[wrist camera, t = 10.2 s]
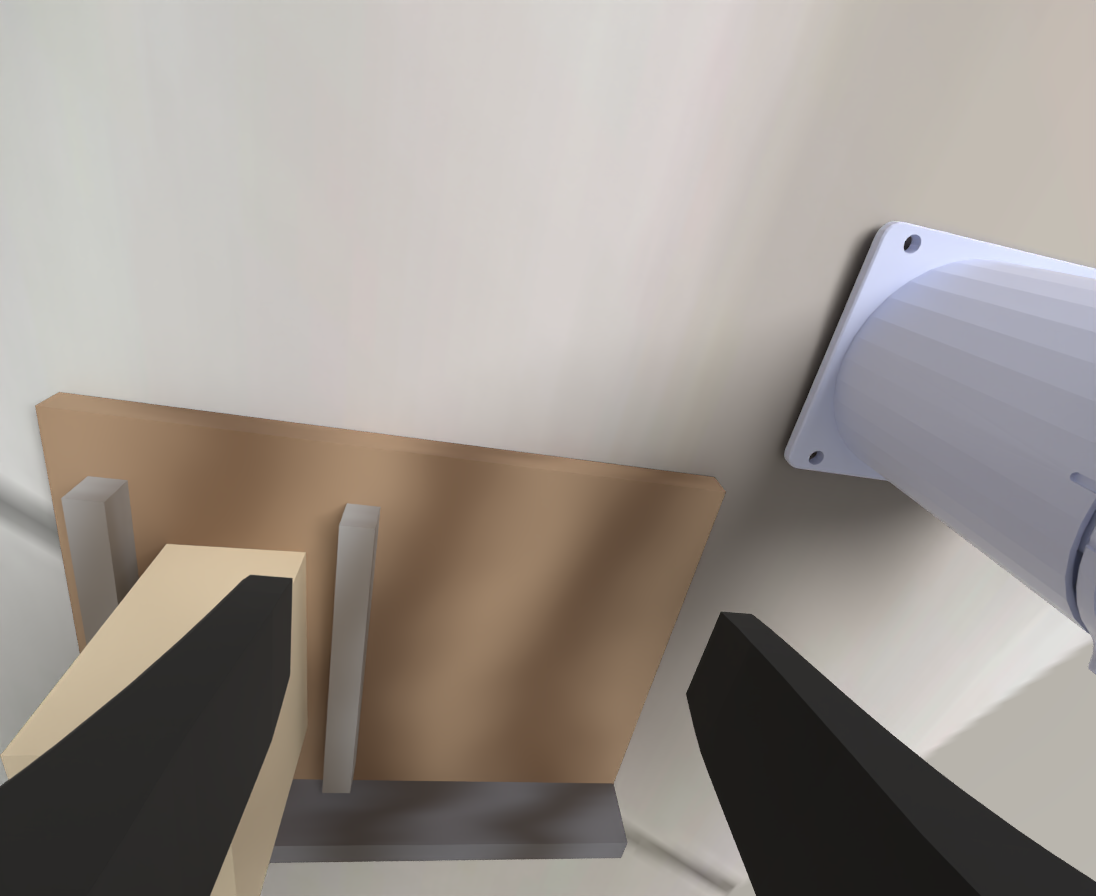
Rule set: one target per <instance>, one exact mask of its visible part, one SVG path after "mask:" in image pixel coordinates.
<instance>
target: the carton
mask: <svg viewBox="0 0 1096 896" xmlns="http://www.w3.org/2000/svg"><path fill="white" fill-rule="evenodd" d="M249 575H261V576H274V577H286V578H293V583H292V624H291V665H290V678H289V682H288V685H287V689H286V693H285V696H284V700H283V704H282V707H281V711H280V714H279V718H278V721H277V725H276V728H275V732H274V735H273V739H272V742H271V744H270V747H269V750H268V752H267V755H266V757H265V760H264V762H263V765H262V767H261V770H260V772H259V775H258V778H257V780H256V783H255V785H254V788H253V790H252V793H251V795H250V798H249V800H248V803H247V805H246V808H245V810H244V813H243V815H242V818H241V820H240V823H239V825H238V828H237V830H236V833H235V835H234V838H233V840H232V843H231V845H230V848H229V850H228V853H227V855H226V858H225V860H224V863H223V865H222V868H221V870H220V873H219V875H218V878H217V880H216V883H215V885H214V888H213V890H212V893H211V895H210V896H260V894H261V890H262V886H263V883H264V879H265V876H266V872H267V869H268V865H269V862H270V858H271V855H272V851H273V847H274V844H275V840H276V837H277V833H278V830H279V826H280V823H281V819H282V816H283V812H284V809H285V805H286V801H287V798H288V794H289V791H290V787H291V784H292V780H293V777H294V773H295V770H296V766H297V762H298V759H299V755H300V752H301V748H302V745H303V741H304V738H305V734H306V731H307V727H308V718H307V619H306V552H291V551H275V550H258V549H242V548H225V547H209V546H192V545H176V544H166V545H165V546H164V548H163V549H162V550H161V551H160V553H159V554H158V555H157V557H156V558H155V559H154V560H153V562H152V563H151V564H150V566H149V567H148V568H147V569H146V571H145V572H144V573H143V574H142V576H141V577H140V578H139V580H138V581H137V582H136V583H135V585H134V586H133V587H132V588H131V590H130V591H129V592H128V594H127V595H126V596H125V597H124V599H123V600H122V601H121V602H120V604H119V605H118V606H117V608H116V609H115V610H114V611H113V613H112V614H111V615H110V616H109V618H108V619H107V620H106V622H105V623H104V624H103V625H102V627H101V628H100V629H99V631H98V632H97V633H96V634H95V636H94V637H93V638H92V639H91V641H90V642H89V643H88V645H87V646H86V647H85V648H84V650H83V651H82V652H81V653H80V655H79V656H78V657H77V659H76V660H75V661H74V662H73V664H72V665H71V666H70V667H69V669H68V670H67V671H66V673H65V674H64V675H63V676H62V678H61V679H60V680H59V681H58V683H57V684H56V685H55V687H54V688H53V689H52V690H51V692H50V693H49V694H48V695H47V697H46V698H45V699H44V701H43V702H42V703H41V704H40V706H39V707H38V708H37V710H36V711H35V712H34V713H33V715H32V716H31V717H30V718H29V720H28V721H27V722H26V724H25V725H24V726H23V727H22V729H21V730H20V731H19V732H18V734H17V735H16V736H15V738H14V739H13V740H12V741H11V743H10V744H9V745H8V746H7V748H6V749H5V750H4V752H3V753H2V754H1V755H0V756H1V759H2V762H3V765H4V768H5V771H6V774H7V776H8V779H11V778H12V777H13V776H15V775H16V774H17V773H19V772H20V771H21V770H23V769H24V768H25V767H27V766H28V765H29V764H31V763H32V762H33V761H35V760H36V759H37V758H38V757H40V756H41V755H42V754H44V753H45V752H46V751H48V750H49V749H50V748H52V747H53V746H54V745H55V744H57V743H58V742H59V741H60V740H62V739H63V738H64V737H65V736H67V735H68V734H69V733H70V732H72V731H73V730H74V729H75V728H77V727H78V726H79V725H80V724H81V723H83V722H84V721H85V720H86V719H88V718H89V717H90V716H91V715H93V714H94V713H95V712H96V711H97V710H99V709H100V708H101V707H102V706H104V705H105V704H106V703H107V702H109V701H110V700H111V699H112V698H113V697H115V696H116V695H117V694H118V693H120V692H121V691H122V690H123V689H124V688H125V687H127V686H128V685H129V684H130V683H131V682H133V681H134V680H135V679H136V678H137V677H138V676H139V675H141V674H142V673H143V672H144V671H145V670H146V669H147V668H148V667H150V666H151V665H152V664H153V663H154V662H155V661H156V660H157V659H159V658H160V657H161V656H162V655H163V654H164V653H165V652H167V651H168V650H169V649H170V648H171V647H172V646H173V645H174V644H176V643H177V642H178V641H179V640H180V639H181V638H182V637H183V636H184V635H185V634H186V633H188V632H189V631H190V630H191V629H192V628H193V627H194V626H195V625H196V624H197V623H198V622H199V621H200V620H201V619H203V618H204V617H205V616H206V615H207V614H208V613H209V612H210V611H211V610H212V609H213V608H214V607H215V606H216V605H217V604H218V603H219V602H220V601H221V600H222V599H223V598H224V597H225V596H226V595H227V594H228V593H230V592H231V591H232V590H233V589H234V588H235V587H236V586H237V585H238V584H239V583H240V582H241V581H242V580H243V579H245V578H246V577H247V576H249Z"/></svg>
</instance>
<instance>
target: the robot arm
mask: <svg viewBox="0 0 1096 896" xmlns="http://www.w3.org/2000/svg"><path fill="white" fill-rule="evenodd" d="M910 236H911V238H912V242H911V245H910V246H909V248H908V249H906V250H905V251H904V248H903V247H904V242H905V241H906V239H907V238H908V237H910ZM815 451H817V454H816V456H815V457H814V458H812V459H809V457H810V456H811V454H812V453H814V452H815ZM784 457H785V460H786V461H787V462H788V463H789V464H790V465H791V466H792V467H795V468H798V469H806V470H813V471H820V472H827V473H835V474H842V475H849V476H857V477H864V478H871V479H878V480H886V481H889V482H890V483H892V484H893V485H894V486H896V487H897V488H898V489H900V490H901V491H902V492H903V493H905V494H906V495H907V496H909V497H910V498H911V499H913V500H914V501H915V502H917V503H918V504H919V505H921V506H922V507H923V508H924V509H926V510H927V511H928V512H930V513H931V514H932V515H934V516H935V517H936V518H938V519H939V520H940V521H942V522H943V523H944V524H946V525H947V526H948V527H949V528H951V529H952V530H953V531H955V532H956V533H957V534H959V535H960V536H961V537H963V538H964V539H965V540H967V541H968V542H969V543H970V544H972V545H973V546H974V547H976V548H977V549H978V550H980V551H981V552H982V553H984V554H985V555H986V556H988V557H989V558H990V559H991V560H993V561H994V562H995V563H997V564H998V565H999V566H1001V567H1002V568H1003V569H1005V570H1006V571H1007V572H1009V573H1010V574H1011V575H1012V576H1014V577H1015V578H1016V579H1018V580H1019V581H1020V582H1022V583H1023V584H1024V585H1026V586H1027V587H1028V588H1030V589H1031V590H1032V591H1033V592H1035V593H1036V594H1037V595H1039V596H1040V597H1041V598H1043V599H1044V600H1045V601H1047V602H1048V603H1049V604H1051V605H1052V606H1053V607H1054V608H1056V609H1057V610H1058V611H1060V612H1061V613H1062V614H1064V615H1065V616H1066V617H1068V618H1069V619H1070V620H1072V621H1073V622H1074V623H1075V624H1077V625H1078V626H1079V627H1081V628H1082V629H1083V630H1085V631H1086V632H1087V633H1089V634H1090V635H1091V637H1092V639H1093V644H1094V647H1093V654H1092V657H1091V660H1090V662H1089V669H1090V670H1091V671H1092V672H1093V673H1095V674H1096V269H1095V268H1090V267H1086V266H1082V265H1078V264H1074V263H1070V262H1066V261H1062V260H1058V259H1054V258H1049V257H1045V256H1041V255H1037V254H1033V253H1029V252H1025V251H1021V250H1017V249H1013V248H1008V247H1004V246H1000V245H996V244H992V243H988V242H984V241H980V240H976V239H971V238H967V237H963V236H959V235H955V234H951V233H947V232H943V231H939V230H935V229H930V228H926V227H922V226H918V225H914V224H910V223H906V222H900V221H891V222H888V223H886V224H884V225H883V226H882V227H881V228H880V229H879V230H878V232H877V233H876V235H875V237H874V239H873V242H872V244H871V247H870V249H869V251H868V254H867V256H866V258H865V261H864V263H863V266H862V268H861V270H860V273H859V275H858V278H857V280H856V282H855V285H854V287H853V289H852V292H851V294H850V297H849V299H848V301H847V304H846V306H845V308H844V311H843V313H842V316H841V318H840V320H839V323H838V325H837V327H836V330H835V332H834V335H833V337H832V339H831V342H830V344H829V346H828V349H827V351H826V354H825V356H824V358H823V361H822V363H821V365H820V368H819V370H818V373H817V375H816V377H815V380H814V382H813V385H812V387H811V389H810V392H809V394H808V396H807V399H806V401H805V404H804V406H803V408H802V411H801V413H800V415H799V418H798V420H797V423H796V425H795V427H794V430H793V432H792V434H791V437H790V439H789V442H788V444H787V446H786V449H785V453H784ZM292 583H293V578H286V577H274V576H261V575H249V576H247V577H246V578H245V579H243V580H242V581H241V582H240V583H239V584H238V585H237V586H236V587H235V588H234V589H233V590H232V591H231V592H230V593H228V594H227V595H226V596H225V597H224V598H223V599H222V600H221V601H220V602H219V603H218V604H217V605H216V606H215V607H214V608H213V609H212V610H211V611H210V612H209V613H208V614H207V615H206V616H205V617H204V618H203V619H201V620H200V621H199V622H198V623H197V624H196V625H195V626H194V627H193V628H192V629H191V630H190V631H189V632H188V633H186V634H185V635H184V636H183V637H182V638H181V639H180V640H179V641H178V642H177V643H176V644H174V645H173V646H172V647H171V648H170V649H169V650H168V651H167V652H165V653H164V654H163V655H162V656H161V657H160V658H159V659H157V660H156V661H155V662H154V663H153V664H152V665H151V666H150V667H148V668H147V669H146V670H145V671H144V672H143V673H142V674H141V675H139V676H138V677H137V678H136V679H135V680H134V681H133V682H131V683H130V684H129V685H128V686H127V687H125V688H124V689H123V690H122V691H121V692H120V693H118V694H117V695H116V696H115V697H113V698H112V699H111V700H110V701H109V702H107V703H106V704H105V705H104V706H102V707H101V708H100V709H99V710H97V711H96V712H95V713H94V714H93V715H91V716H90V717H89V718H88V719H86V720H85V721H84V722H83V723H81V724H80V725H79V726H78V727H77V728H75V729H74V730H73V731H72V732H70V733H69V734H68V735H67V736H65V737H64V738H63V739H62V740H60V741H59V742H58V743H57V744H55V745H54V746H53V747H52V748H50V749H49V750H48V751H46V752H45V753H44V754H42V755H41V756H40V757H38V758H37V759H36V760H35V761H33V762H32V763H31V764H29V765H28V766H27V767H25V768H24V769H23V770H21V771H20V772H19V773H17V774H16V775H15V776H13V777H12V778H11V779H9V780H8V781H7V782H5V783H4V784H3V785H1V786H0V896H210V895H211V893H212V890H213V888H214V885H215V883H216V880H217V878H218V875H219V873H220V870H221V868H222V865H223V863H224V860H225V858H226V855H227V853H228V850H229V848H230V845H231V843H232V840H233V838H234V835H235V833H236V830H237V828H238V825H239V823H240V820H241V818H242V815H243V813H244V810H245V808H246V805H247V803H248V800H249V798H250V795H251V793H252V790H253V788H254V785H255V783H256V780H257V778H258V775H259V772H260V770H261V767H262V765H263V762H264V760H265V757H266V755H267V752H268V750H269V747H270V744H271V742H272V739H273V735H274V732H275V728H276V725H277V721H278V718H279V714H280V711H281V707H282V704H283V700H284V696H285V693H286V689H287V685H288V682H289V678H290V665H291V624H292ZM686 696H687V700H688V704H689V709H690V713H691V717H692V721H693V726H694V729H695V733H696V737H697V740H698V744H699V748H700V751H701V754H702V757H703V760H704V763H705V765H706V768H707V771H708V773H709V776H710V778H711V781H712V784H713V786H714V789H715V792H716V794H717V797H718V799H719V802H720V805H721V807H722V810H723V812H724V815H725V817H726V820H727V822H728V825H729V827H730V830H731V833H732V835H733V838H734V840H735V843H736V845H737V848H738V850H739V853H740V856H741V858H742V861H743V863H744V866H745V868H746V871H747V873H748V876H749V879H750V881H751V884H752V886H753V889H754V891H755V894H756V896H1096V882H1095V881H1094V880H1092V879H1091V878H1089V877H1088V876H1086V875H1085V874H1083V873H1081V872H1080V871H1078V870H1077V869H1075V868H1074V867H1072V866H1071V865H1069V864H1068V863H1066V862H1065V861H1063V860H1061V859H1060V858H1058V857H1057V856H1055V855H1054V854H1052V853H1051V852H1049V851H1048V850H1046V849H1045V848H1043V847H1042V846H1040V845H1039V844H1037V843H1036V842H1034V841H1033V840H1032V839H1030V838H1029V837H1027V836H1025V835H1024V834H1023V833H1021V832H1020V831H1018V830H1017V829H1016V828H1014V827H1013V826H1011V825H1010V824H1009V823H1007V822H1006V821H1004V820H1003V819H1002V818H1000V817H999V816H998V815H996V814H995V813H993V812H992V811H991V810H989V809H988V808H986V807H985V806H984V805H982V804H981V803H980V802H978V801H977V800H976V799H974V798H973V797H971V796H970V795H968V794H967V793H966V792H965V791H963V790H962V789H960V788H959V787H958V786H956V785H955V784H954V783H953V782H951V781H950V780H949V779H947V778H946V777H945V776H943V775H942V774H941V773H939V772H938V771H937V770H936V769H934V768H933V767H932V766H930V765H929V764H928V763H927V762H926V761H924V760H923V759H922V758H921V757H919V756H918V755H917V754H916V753H914V752H913V751H912V750H911V749H910V748H908V747H907V746H906V745H905V744H903V743H902V742H901V741H900V740H898V739H897V738H896V737H895V736H893V735H892V734H891V733H890V732H889V731H887V730H886V729H885V728H884V727H883V726H881V725H880V724H879V723H878V722H877V721H876V720H874V719H873V718H872V717H871V716H870V715H868V714H867V713H866V712H865V711H864V710H863V709H861V708H860V707H859V706H858V705H857V704H856V703H854V702H853V701H852V700H851V699H850V698H849V697H848V696H846V695H845V694H844V693H843V692H842V691H841V690H840V689H838V688H837V687H836V686H835V685H834V684H833V683H832V682H830V681H829V680H828V679H827V678H826V677H825V676H824V675H822V674H821V673H820V672H819V671H818V670H817V669H816V668H815V667H813V666H812V665H811V664H810V663H809V662H808V661H807V660H806V659H804V658H803V657H802V656H801V655H800V654H799V653H798V652H796V651H795V650H794V649H793V648H792V647H791V646H790V645H788V644H787V643H786V642H785V641H784V640H783V639H782V638H780V637H779V636H778V635H777V634H776V633H775V632H773V631H772V630H771V629H770V628H769V627H767V626H766V625H765V624H764V623H762V622H761V621H760V620H759V619H757V618H756V617H755V616H754V615H752V614H743V613H730V612H721V613H720V615H719V617H718V620H717V622H716V624H715V627H714V629H713V632H712V634H711V636H710V639H709V641H708V643H707V646H706V648H705V650H704V653H703V655H702V657H701V660H700V662H699V665H698V667H697V669H696V672H695V674H694V676H693V679H692V681H691V683H690V686H689V688H688V690H687V693H686Z"/></svg>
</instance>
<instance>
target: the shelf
mask: <svg viewBox="0 0 1096 896" xmlns="http://www.w3.org/2000/svg"><path fill="white" fill-rule="evenodd" d="M35 407H36V413H37V418H38V424H39V429H40V435H41V440H42V446H43V451H44V457H45V463H46V468H47V474H48V479H49V485H50V490H51V496H52V501H53V507H54V513H55V518H56V524H57V529H58V535H59V540H60V546H61V551H62V557H63V563H64V568H65V574H66V579H67V585H68V590H69V596H70V601H71V607H72V612H73V618H74V624H75V629H76V635H77V640H78V646H79V651H80V653H81V652H82V651H83V650H84V648H85V647H86V646H87V645H88V643H89V642H90V641H91V639H92V638H93V637H94V636H95V634H96V633H97V632H98V631H99V629H100V628H101V627H102V625H103V624H104V623H105V622H106V620H107V619H108V618H109V616H110V615H111V614H112V613H113V611H114V610H115V609H116V608H117V606H118V605H119V604H120V602H121V601H122V600H123V599H124V597H125V596H126V595H127V594H128V592H129V591H130V590H131V588H132V587H133V586H134V585H135V583H136V582H137V581H138V580H139V578H140V577H141V576H142V574H143V573H144V572H145V571H146V569H147V568H148V567H149V566H150V564H151V563H152V562H153V560H154V559H155V558H156V557H157V555H158V554H159V553H160V551H161V550H162V549H163V548H164V546H165V545H166V544H176V545H192V546H209V547H225V548H242V549H258V550H275V551H291V552H306V619H307V718H308V727H307V731H306V734H305V738H304V741H303V745H302V748H301V752H300V755H299V759H298V762H297V766H296V770H295V773H294V777H293V780H292V784H291V787H290V791H289V794H288V798H287V801H286V805H285V809H284V812H283V816H282V819H281V823H280V826H279V830H278V833H277V837H276V840H275V844H274V847H273V851H272V855H271V858H270V862H269V863H291V862H362V861H433V860H505V859H576V858H621V857H622V854H623V852H624V850H625V847H626V845H627V839H626V835H625V831H624V827H623V822H622V818H621V814H620V809H619V805H618V801H617V797H616V792H615V788H614V784H613V783H614V781H615V778H616V775H617V773H618V770H619V768H620V765H621V762H622V760H623V757H624V755H625V752H626V750H627V747H628V744H629V742H630V739H631V737H632V734H633V731H634V729H635V726H636V724H637V721H638V718H639V716H640V713H641V711H642V708H643V705H644V703H645V700H646V698H647V695H648V692H649V690H650V687H651V685H652V682H653V680H654V677H655V674H656V672H657V669H658V667H659V664H660V661H661V659H662V656H663V654H664V651H665V648H666V646H667V643H668V641H669V638H670V635H671V633H672V630H673V628H674V625H675V622H676V620H677V617H678V615H679V612H680V610H681V607H682V604H683V602H684V599H685V597H686V594H687V591H688V589H689V586H690V584H691V581H692V578H693V576H694V573H695V571H696V568H697V565H698V563H699V560H700V558H701V555H702V553H703V550H704V547H705V545H706V542H707V540H708V537H709V534H710V532H711V529H712V527H713V524H714V521H715V519H716V516H717V514H718V511H719V508H720V506H721V503H722V501H723V498H724V495H725V493H726V491H725V490H724V489H723V487H722V486H721V485H720V484H719V482H718V481H717V480H716V478H715V477H709V476H701V475H694V474H686V473H678V472H671V471H663V470H655V469H647V468H640V467H632V466H624V465H617V464H609V463H601V462H593V461H586V460H578V459H570V458H563V457H555V456H547V455H539V454H532V453H524V452H516V451H509V450H501V449H493V448H485V447H478V446H470V445H462V444H455V443H447V442H439V441H431V440H424V439H416V438H408V437H401V436H393V435H385V434H378V433H370V432H362V431H354V430H347V429H339V428H331V427H324V426H316V425H308V424H300V423H293V422H285V421H277V420H270V419H262V418H254V417H246V416H239V415H231V414H223V413H216V412H208V411H200V410H192V409H185V408H177V407H169V406H162V405H154V404H146V403H138V402H131V401H123V400H115V399H108V398H100V397H92V396H84V395H77V394H69V393H61V392H59V393H57V394H55V395H53V396H52V397H50V398H48V399H46V400H45V401H43V402H41V403H39V404H37V405H36V406H35Z"/></svg>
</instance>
